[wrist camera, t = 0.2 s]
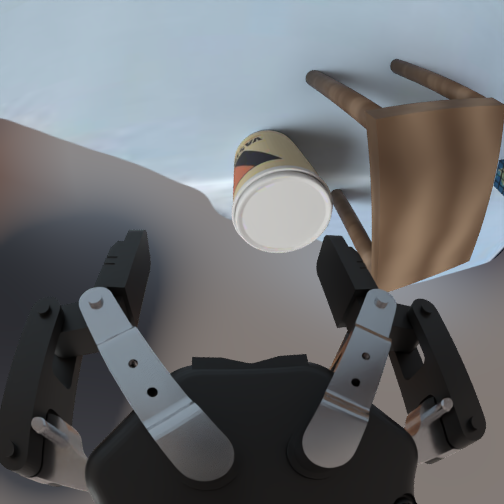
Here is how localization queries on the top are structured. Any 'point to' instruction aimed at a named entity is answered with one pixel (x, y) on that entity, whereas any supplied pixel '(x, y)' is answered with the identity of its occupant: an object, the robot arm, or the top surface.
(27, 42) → the top surface
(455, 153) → the cover stand
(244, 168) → the coffee cup
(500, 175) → the puzzle
